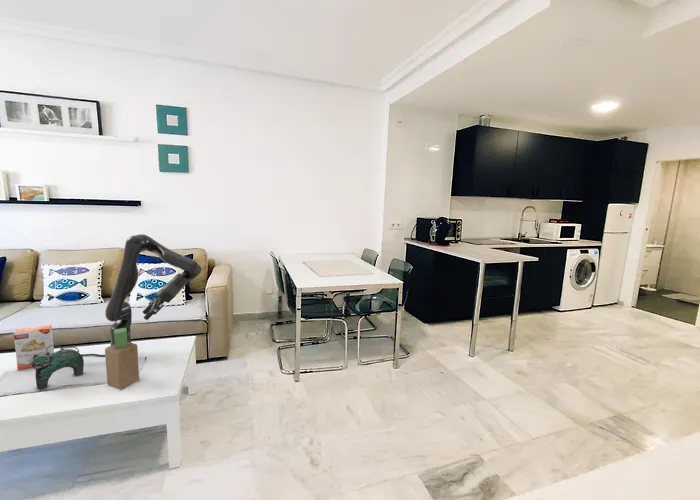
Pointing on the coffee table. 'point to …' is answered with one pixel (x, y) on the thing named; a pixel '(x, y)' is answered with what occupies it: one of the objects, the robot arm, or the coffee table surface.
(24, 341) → the cracker box
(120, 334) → the green block
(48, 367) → the ceramic cat
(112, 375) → the wooden block
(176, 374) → the coffee table surface
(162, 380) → the coffee table surface
